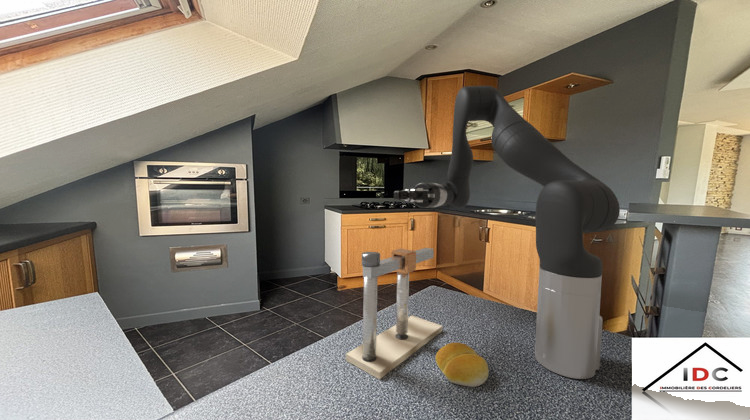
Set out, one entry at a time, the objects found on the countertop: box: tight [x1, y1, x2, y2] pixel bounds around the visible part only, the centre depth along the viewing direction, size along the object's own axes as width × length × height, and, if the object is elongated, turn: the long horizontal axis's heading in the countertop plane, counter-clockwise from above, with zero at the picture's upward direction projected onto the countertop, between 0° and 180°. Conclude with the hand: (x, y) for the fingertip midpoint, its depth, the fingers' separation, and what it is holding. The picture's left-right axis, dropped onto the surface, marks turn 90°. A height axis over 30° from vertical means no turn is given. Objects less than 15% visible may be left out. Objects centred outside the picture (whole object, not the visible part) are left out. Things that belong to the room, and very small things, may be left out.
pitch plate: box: [345, 315, 443, 380], centre depth 58 cm, size 22×8×1 cm, turn 139°
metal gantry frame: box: [361, 247, 434, 361], centre depth 57 cm, size 22×3×19 cm, turn 139°
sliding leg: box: [390, 248, 417, 336], centre depth 58 cm, size 3×4×17 cm
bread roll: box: [435, 342, 489, 388], centre depth 49 cm, size 8×9×4 cm
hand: (396, 195), depth 74 cm, fingers closed
